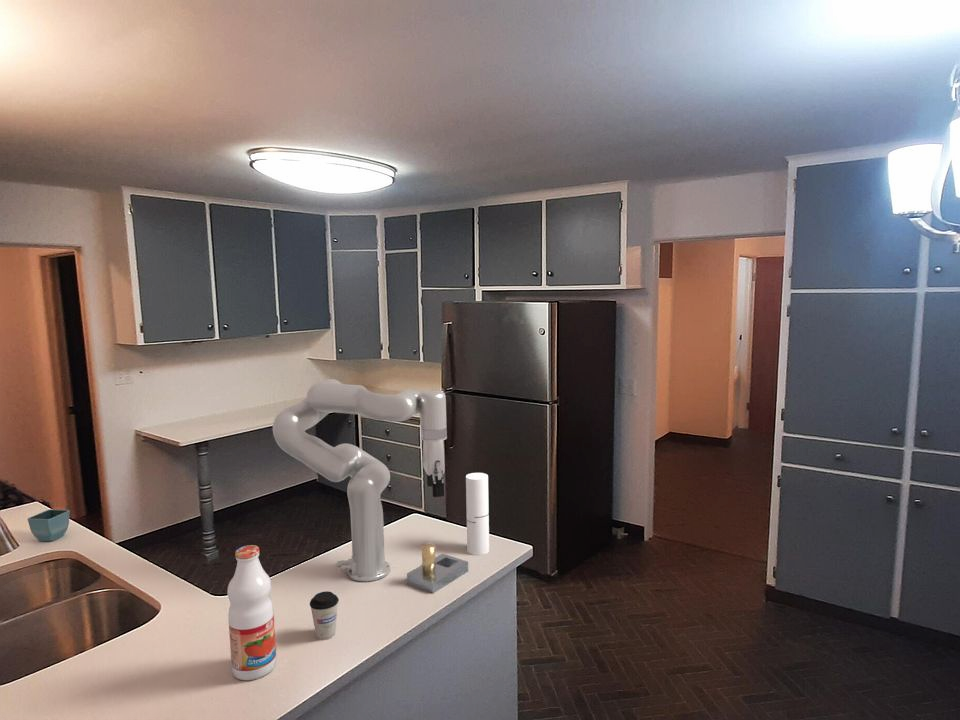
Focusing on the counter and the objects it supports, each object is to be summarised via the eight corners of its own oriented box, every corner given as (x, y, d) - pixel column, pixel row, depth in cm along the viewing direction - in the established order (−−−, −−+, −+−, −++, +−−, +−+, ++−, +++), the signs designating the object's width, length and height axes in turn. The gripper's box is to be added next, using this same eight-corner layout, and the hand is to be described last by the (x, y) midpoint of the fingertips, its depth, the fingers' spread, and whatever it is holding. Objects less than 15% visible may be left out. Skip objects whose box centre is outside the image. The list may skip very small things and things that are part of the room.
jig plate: (433, 593, 164) (433, 583, 164) (407, 583, 170) (406, 573, 170) (468, 571, 177) (468, 561, 177) (442, 562, 183) (442, 553, 183)
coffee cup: (309, 630, 147) (307, 592, 146) (337, 624, 150) (335, 586, 149) (313, 645, 141) (311, 606, 139) (342, 638, 143) (340, 599, 142)
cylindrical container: (489, 555, 188) (488, 479, 185) (466, 555, 188) (465, 479, 185) (489, 545, 195) (488, 472, 192) (467, 545, 195) (466, 472, 192)
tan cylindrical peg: (423, 576, 168) (422, 549, 167) (421, 570, 172) (421, 544, 171) (436, 575, 169) (435, 548, 168) (434, 569, 172) (434, 543, 171)
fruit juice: (253, 651, 139) (246, 538, 135) (285, 660, 135) (279, 543, 132) (222, 676, 130) (214, 555, 127) (256, 685, 126) (248, 561, 123)
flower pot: (28, 543, 202) (26, 518, 201) (51, 533, 211) (49, 509, 210) (51, 544, 201) (48, 519, 200) (72, 534, 210) (70, 510, 208)
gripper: (416, 428, 177) (418, 483, 179) (425, 441, 161) (427, 502, 162) (441, 426, 179) (442, 480, 181) (452, 439, 162) (454, 499, 164)
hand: (435, 490), depth 172 cm, fingers open, 9 cm apart
